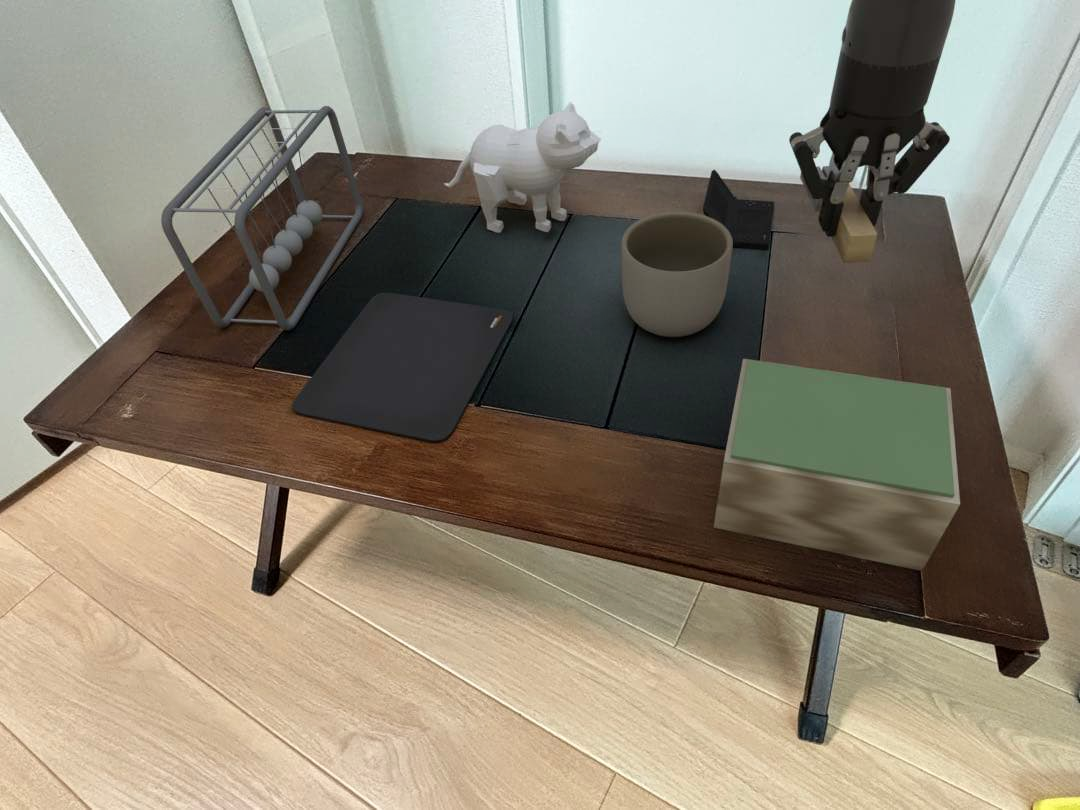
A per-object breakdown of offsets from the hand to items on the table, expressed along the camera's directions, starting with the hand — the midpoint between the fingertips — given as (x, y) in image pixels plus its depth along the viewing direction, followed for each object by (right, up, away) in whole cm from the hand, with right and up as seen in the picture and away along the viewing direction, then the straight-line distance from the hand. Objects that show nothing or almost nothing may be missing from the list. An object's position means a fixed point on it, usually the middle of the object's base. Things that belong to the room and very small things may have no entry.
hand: (845, 230), depth 70 cm
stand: (-3, -25, 0) cm, 26 cm away
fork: (0, +2, +3) cm, 4 cm away
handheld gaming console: (-2, +8, +32) cm, 33 cm away
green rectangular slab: (-4, -19, -8) cm, 20 cm away
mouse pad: (-46, -12, +18) cm, 51 cm away
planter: (-13, -6, +20) cm, 24 cm away
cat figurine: (-32, +11, +38) cm, 51 cm away
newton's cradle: (-65, +3, +34) cm, 73 cm away
